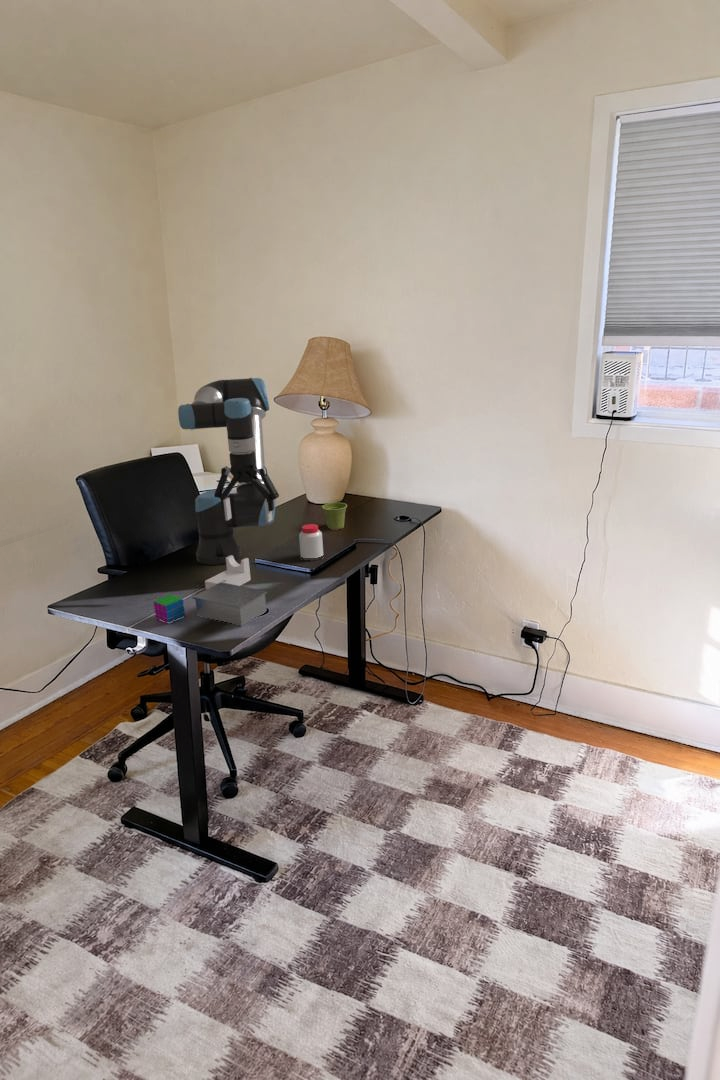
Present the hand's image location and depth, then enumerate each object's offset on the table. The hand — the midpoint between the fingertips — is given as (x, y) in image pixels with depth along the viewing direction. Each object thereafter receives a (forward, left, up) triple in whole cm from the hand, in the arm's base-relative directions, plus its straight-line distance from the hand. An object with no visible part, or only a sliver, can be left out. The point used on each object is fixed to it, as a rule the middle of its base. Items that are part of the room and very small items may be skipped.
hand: (248, 520), depth 223 cm
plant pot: (-6, +57, -20) cm, 60 cm away
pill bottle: (+4, +25, -20) cm, 33 cm away
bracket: (-6, -6, -21) cm, 22 cm away
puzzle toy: (-5, -32, -20) cm, 38 cm away
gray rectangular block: (+9, -23, -20) cm, 32 cm away
